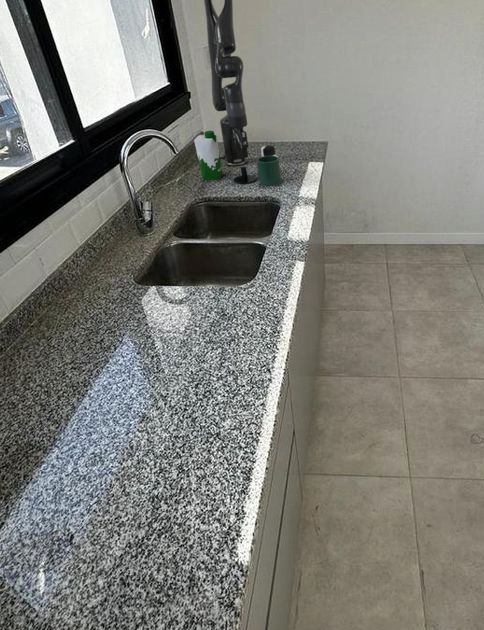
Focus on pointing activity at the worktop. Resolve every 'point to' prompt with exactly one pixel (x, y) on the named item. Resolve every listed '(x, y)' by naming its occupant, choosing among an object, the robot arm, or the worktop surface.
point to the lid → (244, 177)
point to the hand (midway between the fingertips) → (242, 154)
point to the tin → (269, 170)
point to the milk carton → (208, 156)
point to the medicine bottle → (268, 151)
